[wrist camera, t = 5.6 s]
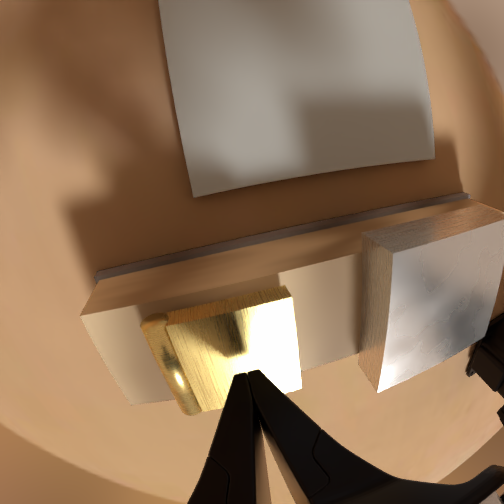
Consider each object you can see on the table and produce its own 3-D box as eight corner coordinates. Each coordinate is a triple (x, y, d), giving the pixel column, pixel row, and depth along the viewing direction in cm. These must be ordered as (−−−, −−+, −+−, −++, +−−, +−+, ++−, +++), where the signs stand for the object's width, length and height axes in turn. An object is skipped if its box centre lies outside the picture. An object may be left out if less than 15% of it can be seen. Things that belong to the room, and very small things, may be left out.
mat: (396, -14, 9) (402, -18, 9) (427, 157, 13) (435, 159, 13) (156, -18, 8) (155, -24, 8) (193, 195, 12) (193, 197, 12)
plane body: (463, 192, 15) (505, 207, 11) (456, 271, 17) (491, 295, 14) (97, 271, 13) (73, 312, 9) (136, 359, 15) (129, 408, 11)
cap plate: (480, 204, 11) (511, 216, 9) (462, 317, 13) (484, 336, 12) (361, 232, 10) (393, 253, 8) (358, 363, 13) (377, 392, 11)
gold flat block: (142, 315, 10) (284, 283, 10) (180, 399, 11) (294, 373, 12) (138, 333, 9) (293, 298, 9) (181, 417, 10) (302, 389, 11)
